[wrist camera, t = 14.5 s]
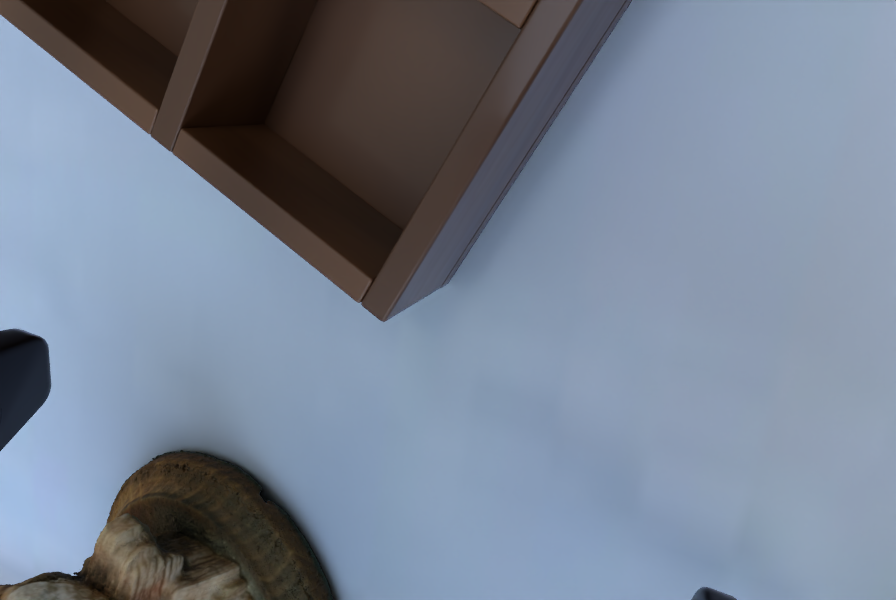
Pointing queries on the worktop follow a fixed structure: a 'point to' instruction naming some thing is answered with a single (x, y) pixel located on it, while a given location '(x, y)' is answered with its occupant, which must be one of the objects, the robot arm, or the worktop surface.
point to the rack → (340, 112)
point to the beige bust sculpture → (189, 542)
